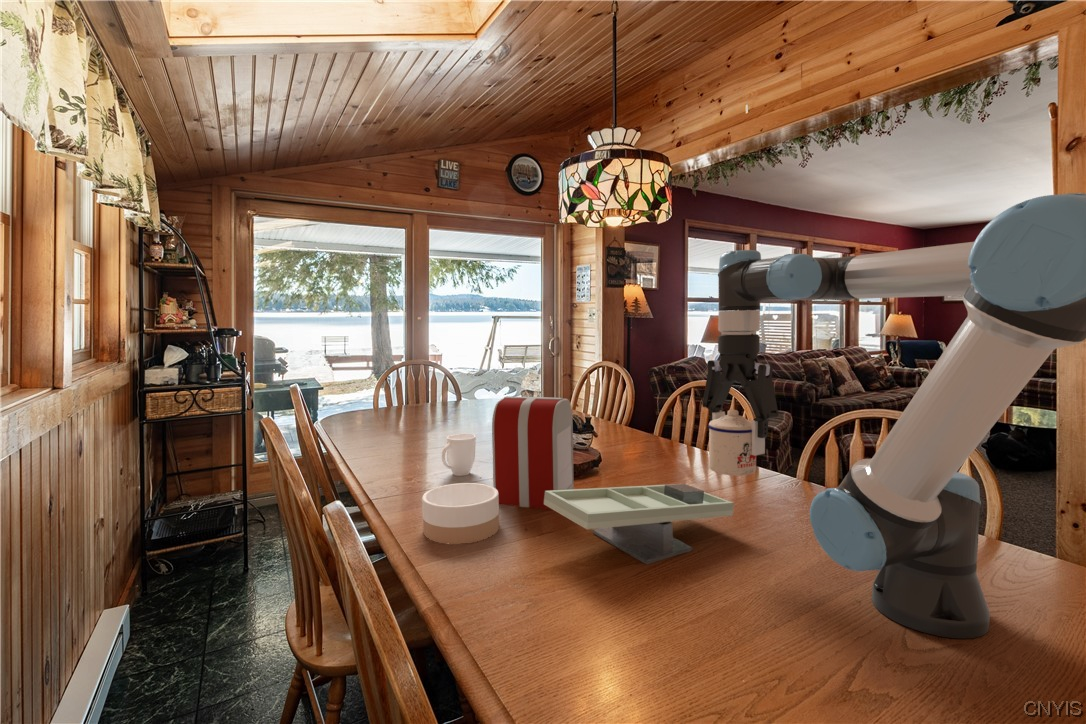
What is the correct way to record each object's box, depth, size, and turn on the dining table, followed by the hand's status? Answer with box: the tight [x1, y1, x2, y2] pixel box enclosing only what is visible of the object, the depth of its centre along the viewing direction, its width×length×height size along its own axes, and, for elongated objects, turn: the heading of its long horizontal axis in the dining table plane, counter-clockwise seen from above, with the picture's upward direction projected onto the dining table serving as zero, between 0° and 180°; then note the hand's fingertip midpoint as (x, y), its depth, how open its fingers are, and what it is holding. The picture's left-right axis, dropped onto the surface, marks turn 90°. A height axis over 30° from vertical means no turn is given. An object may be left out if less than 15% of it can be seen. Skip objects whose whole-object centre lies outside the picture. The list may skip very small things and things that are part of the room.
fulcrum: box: [592, 521, 693, 566], centre depth 114 cm, size 18×12×7 cm, turn 29°
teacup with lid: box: [707, 409, 757, 477], centre depth 105 cm, size 12×9×12 cm
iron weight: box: [664, 483, 705, 505], centre depth 120 cm, size 6×6×3 cm
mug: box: [441, 433, 477, 477], centre depth 167 cm, size 12×9×12 cm
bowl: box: [421, 482, 500, 545], centre depth 123 cm, size 17×17×8 cm
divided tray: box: [544, 483, 735, 530], centre depth 114 cm, size 16×38×3 cm, turn 119°
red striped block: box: [491, 395, 575, 511], centre depth 144 cm, size 17×18×27 cm
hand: (737, 448), depth 105 cm, fingers closed on teacup with lid, 9 cm apart
